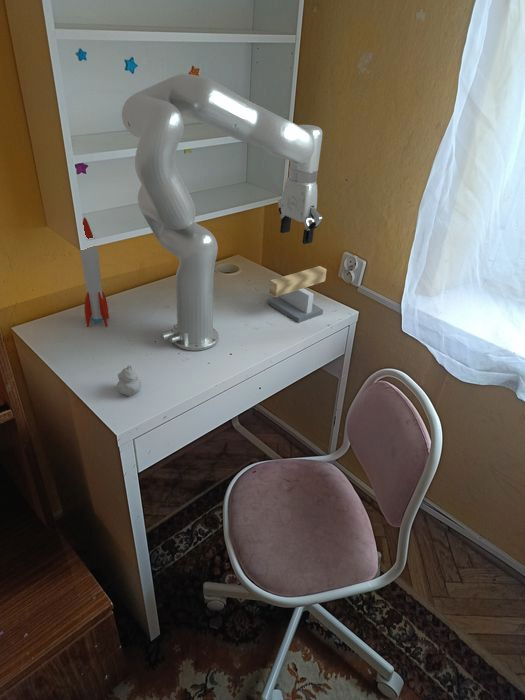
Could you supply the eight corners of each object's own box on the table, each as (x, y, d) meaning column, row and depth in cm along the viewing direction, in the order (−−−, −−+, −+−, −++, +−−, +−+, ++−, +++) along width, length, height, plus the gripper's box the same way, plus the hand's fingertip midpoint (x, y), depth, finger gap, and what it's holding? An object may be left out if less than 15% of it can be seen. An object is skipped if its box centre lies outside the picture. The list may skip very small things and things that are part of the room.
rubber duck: (127, 402, 112) (123, 373, 108) (110, 389, 116) (107, 360, 111) (147, 393, 115) (145, 364, 111) (131, 380, 119) (128, 352, 115)
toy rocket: (107, 327, 138) (95, 221, 122) (86, 327, 137) (71, 221, 121) (109, 317, 143) (98, 214, 126) (89, 317, 142) (75, 213, 126)
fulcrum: (298, 322, 147) (301, 300, 143) (268, 304, 156) (270, 282, 152) (322, 314, 153) (325, 292, 149) (292, 296, 162) (294, 275, 157)
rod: (276, 296, 144) (277, 284, 142) (269, 292, 146) (270, 280, 144) (325, 281, 155) (326, 269, 153) (318, 277, 157) (319, 265, 155)
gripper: (271, 169, 137) (266, 230, 146) (314, 185, 126) (306, 250, 135) (292, 167, 141) (286, 226, 150) (335, 182, 130) (326, 245, 139)
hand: (295, 237), depth 142 cm, fingers open, 9 cm apart
